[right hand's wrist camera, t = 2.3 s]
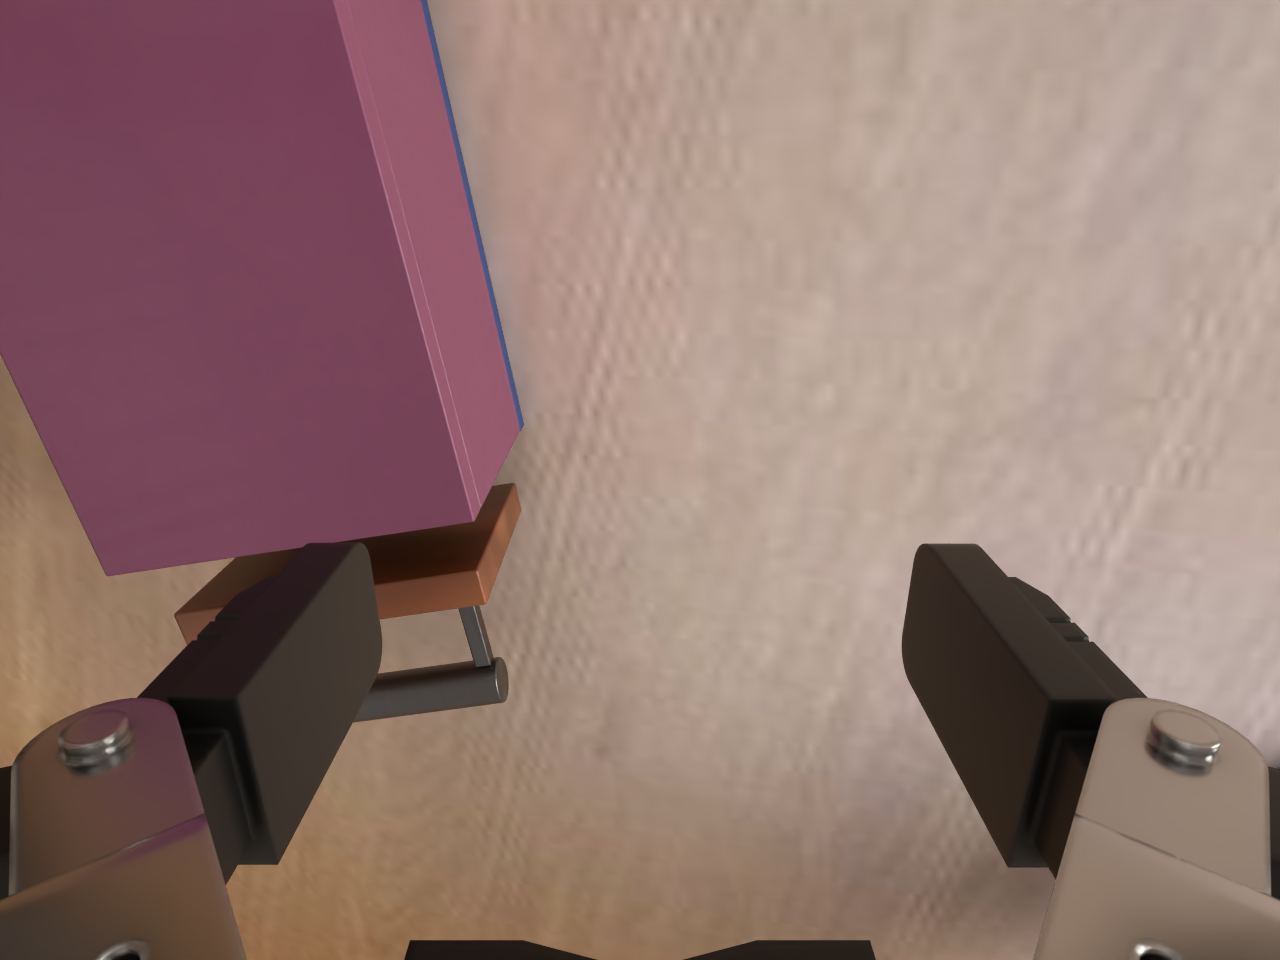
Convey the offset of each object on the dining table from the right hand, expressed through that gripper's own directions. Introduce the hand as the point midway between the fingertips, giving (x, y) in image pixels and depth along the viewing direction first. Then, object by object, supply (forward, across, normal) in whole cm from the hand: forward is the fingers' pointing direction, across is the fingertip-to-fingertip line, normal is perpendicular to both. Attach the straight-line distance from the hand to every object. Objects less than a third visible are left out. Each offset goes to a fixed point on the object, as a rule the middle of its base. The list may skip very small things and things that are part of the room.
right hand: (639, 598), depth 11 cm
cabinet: (+18, +11, -6) cm, 22 cm away
